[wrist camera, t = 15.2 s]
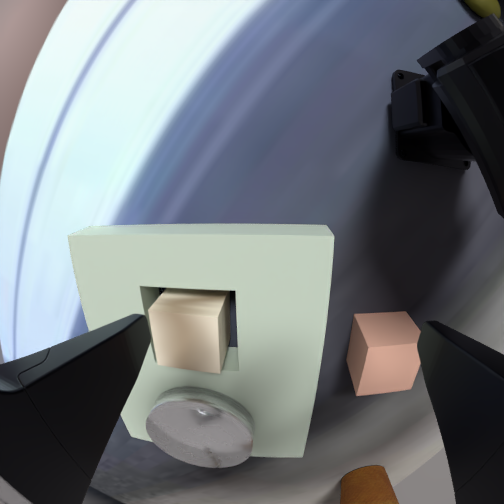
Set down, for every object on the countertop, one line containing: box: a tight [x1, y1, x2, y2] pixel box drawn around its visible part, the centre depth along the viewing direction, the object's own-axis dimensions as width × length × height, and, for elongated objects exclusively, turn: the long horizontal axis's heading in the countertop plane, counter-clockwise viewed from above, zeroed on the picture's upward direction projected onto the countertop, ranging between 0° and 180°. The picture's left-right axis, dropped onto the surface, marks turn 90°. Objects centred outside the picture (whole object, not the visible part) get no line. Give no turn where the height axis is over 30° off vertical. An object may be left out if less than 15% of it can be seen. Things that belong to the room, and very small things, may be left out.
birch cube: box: [148, 288, 230, 374], centre depth 20 cm, size 4×4×4 cm
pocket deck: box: [68, 224, 334, 457], centre depth 22 cm, size 18×22×3 cm
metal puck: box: [146, 386, 255, 468], centre depth 21 cm, size 9×9×2 cm
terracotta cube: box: [346, 311, 421, 396], centre depth 19 cm, size 4×4×4 cm
